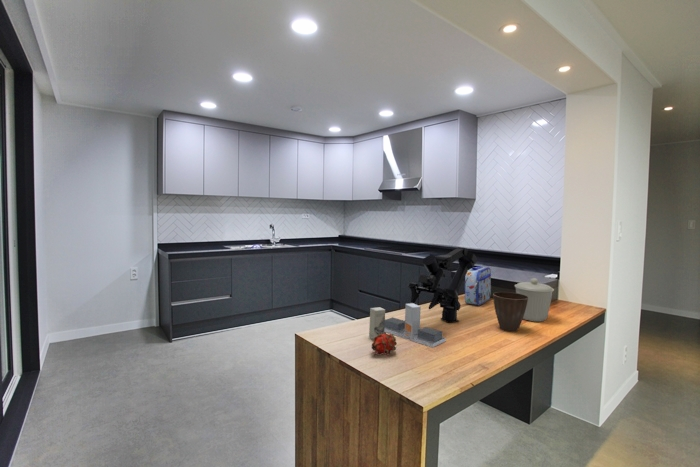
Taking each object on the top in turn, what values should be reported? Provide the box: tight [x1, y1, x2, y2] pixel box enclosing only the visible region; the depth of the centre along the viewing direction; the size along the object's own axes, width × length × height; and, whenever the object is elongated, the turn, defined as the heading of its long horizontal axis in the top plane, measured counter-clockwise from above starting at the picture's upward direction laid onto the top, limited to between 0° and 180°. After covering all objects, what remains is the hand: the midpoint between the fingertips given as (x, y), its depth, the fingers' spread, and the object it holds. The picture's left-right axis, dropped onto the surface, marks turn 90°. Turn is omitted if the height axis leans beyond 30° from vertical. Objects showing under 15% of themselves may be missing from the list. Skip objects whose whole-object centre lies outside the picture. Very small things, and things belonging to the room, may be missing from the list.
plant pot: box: [492, 291, 528, 333], centre depth 166 cm, size 15×15×16 cm
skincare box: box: [404, 302, 422, 335], centre depth 155 cm, size 6×4×12 cm
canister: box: [514, 277, 555, 322], centre depth 183 cm, size 18×18×21 cm
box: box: [368, 306, 386, 341], centre depth 150 cm, size 5×4×13 cm
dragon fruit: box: [370, 332, 398, 356], centre depth 135 cm, size 8×8×12 cm
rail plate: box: [384, 317, 447, 348], centre depth 155 cm, size 10×27×4 cm, turn 45°
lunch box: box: [464, 266, 492, 306], centre depth 215 cm, size 28×10×22 cm, turn 145°
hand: (420, 306), depth 159 cm, fingers open, 9 cm apart
